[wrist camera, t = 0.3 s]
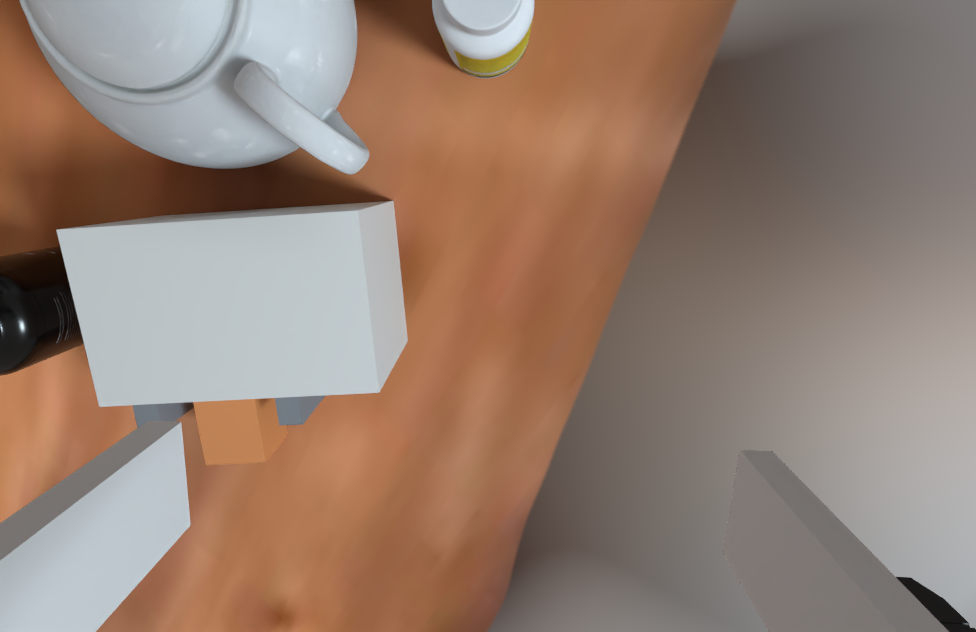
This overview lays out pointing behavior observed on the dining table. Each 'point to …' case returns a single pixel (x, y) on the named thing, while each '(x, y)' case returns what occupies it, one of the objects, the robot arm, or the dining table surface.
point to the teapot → (209, 75)
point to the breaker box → (238, 306)
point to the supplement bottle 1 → (35, 309)
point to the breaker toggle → (239, 430)
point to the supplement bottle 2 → (484, 33)
